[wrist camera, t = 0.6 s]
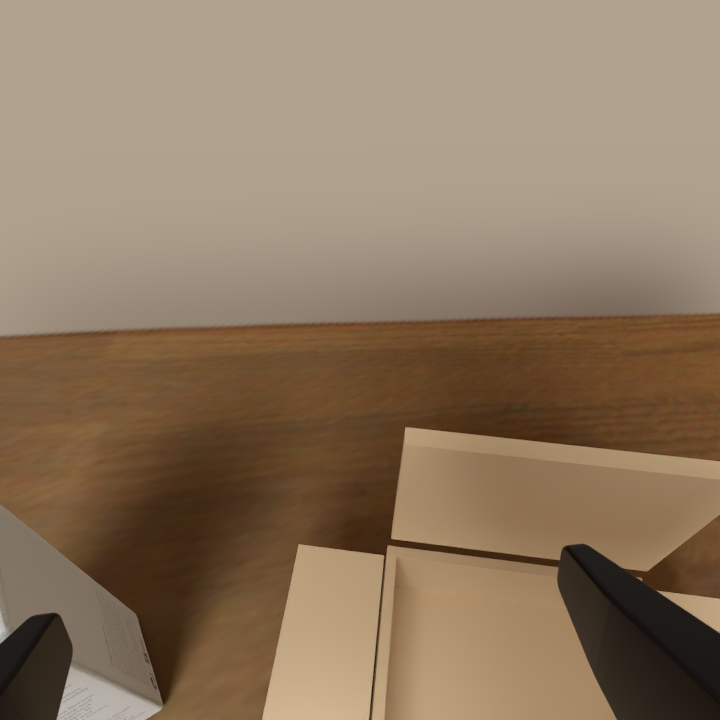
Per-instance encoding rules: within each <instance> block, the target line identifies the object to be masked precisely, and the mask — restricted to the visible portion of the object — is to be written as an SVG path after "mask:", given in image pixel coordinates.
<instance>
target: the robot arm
mask: <svg viewBox="0 0 720 720" xmlns="http://www.w3.org/2000/svg"><path fill="white" fill-rule="evenodd" d="M557 584H558V588H559V591H560V594H561V596H562V599H563V601H564V604H565V606H566V609H567V611H568V613H569V616H570V618H571V621H572V623H573V626H574V628H575V631H576V633H577V636H578V638H579V641H580V643H581V645H582V648H583V650H584V653H585V655H586V658H587V660H588V663H589V665H590V667H591V669H592V672H593V674H594V676H595V678H596V680H597V682H598V684H599V686H600V688H601V690H602V692H603V694H604V696H605V698H606V700H607V702H608V704H609V706H610V707H611V709H612V711H613V713H614V715H615V717H616V719H617V720H720V633H719V632H718V631H716V630H715V629H713V628H712V627H710V626H709V625H707V624H706V623H704V622H703V621H701V620H700V619H698V618H697V617H695V616H694V615H692V614H691V613H689V612H688V611H686V610H685V609H683V608H682V607H680V606H679V605H677V604H676V603H674V602H673V601H671V600H670V599H668V598H667V597H665V596H664V595H662V594H661V593H659V592H658V591H656V590H655V589H653V588H652V587H650V586H649V585H647V584H646V583H644V582H643V581H641V580H640V579H638V578H637V577H635V576H634V575H632V574H631V573H629V572H628V571H626V570H625V569H623V568H622V567H620V566H619V565H617V564H616V563H614V562H613V561H611V560H610V559H608V558H607V557H605V556H604V555H602V554H601V553H599V552H598V551H596V550H595V549H593V548H592V547H590V546H588V545H586V544H573V545H566V546H564V547H563V548H562V550H561V555H560V561H559V568H558V574H557ZM72 656H73V646H72V642H71V639H70V637H69V635H68V632H67V630H66V627H65V625H64V623H63V620H62V618H61V616H60V615H59V614H58V613H54V612H53V613H46V614H38V615H33V616H31V617H29V618H28V619H27V620H25V621H24V622H23V623H22V624H21V625H20V626H19V627H18V628H17V629H15V630H14V631H13V632H12V633H11V634H10V635H9V636H8V637H7V638H6V639H5V640H3V641H2V642H1V643H0V720H57V717H58V713H59V709H60V705H61V701H62V697H63V693H64V689H65V685H66V681H67V677H68V673H69V669H70V665H71V661H72Z"/></svg>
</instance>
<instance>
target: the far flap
mask: <svg viewBox="0 0 720 720" xmlns="http://www.w3.org/2000/svg"><path fill="white" fill-rule="evenodd" d="M718 515H720V461H711V460H701V459H692V458H683V457H674V456H665V455H656V454H647V453H637V452H628V451H619V450H610V449H601V448H592V447H583V446H573V445H564V444H555V443H546V442H537V441H528V440H519V439H509V438H500V437H491V436H482V435H473V434H464V433H455V432H445V431H436V430H427V429H418V428H409V427H406V428H405V435H404V442H403V450H402V457H401V464H400V472H399V479H398V486H397V494H396V501H395V508H394V516H393V523H392V534H391V539H396V540H403V541H411V542H419V543H427V544H435V545H443V546H451V547H459V548H467V549H474V550H482V551H490V552H498V553H506V554H514V555H522V556H530V557H537V558H545V559H553V560H560V555H561V550H562V548H563V547H564V546H566V545H573V544H586V545H588V546H590V547H592V548H593V549H595V550H596V551H598V552H599V553H601V554H602V555H604V556H605V557H607V558H608V559H610V560H611V561H613V562H614V563H616V564H617V565H619V566H620V567H622V568H624V569H632V570H640V571H648V570H650V569H651V568H652V567H653V566H655V565H656V564H657V563H659V562H660V561H661V560H662V559H664V558H665V557H666V556H667V555H669V554H670V553H671V552H673V551H674V550H675V549H676V548H678V547H679V546H680V545H681V544H683V543H684V542H685V541H687V540H688V539H689V538H690V537H692V536H693V535H694V534H695V533H697V532H698V531H699V530H701V529H702V528H703V527H704V526H706V525H707V524H708V523H709V522H711V521H712V520H713V519H715V518H716V517H717V516H718Z"/></svg>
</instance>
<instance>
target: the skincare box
mask: <svg viewBox="0 0 720 720" xmlns="http://www.w3.org/2000/svg"><path fill="white" fill-rule="evenodd" d="M53 612H54V613H58V614H59V615H60V616H61V618H62V620H63V623H64V625H65V627H66V630H67V632H68V635H69V637H70V639H71V642H72V646H73V656H72V661H71V665H70V669H69V673H68V677H67V681H66V685H65V689H64V693H63V697H62V701H61V705H60V709H59V713H58V717H57V720H146V719H147V718H149V717H150V716H152V715H153V714H155V713H157V712H158V711H160V710H161V709H162V708H163V702H162V699H161V696H160V692H159V689H158V686H157V682H156V679H155V675H154V672H153V668H152V665H151V662H150V658H149V655H148V652H147V649H146V646H145V643H144V639H143V636H142V633H141V629H140V626H139V622H138V618H137V615H136V614H135V613H134V612H133V611H132V610H130V609H129V608H128V607H126V606H125V605H124V604H123V603H122V602H120V601H119V600H118V599H117V598H116V597H114V596H113V595H112V594H111V593H109V592H108V591H107V590H106V589H104V588H103V587H102V586H101V585H99V584H98V583H97V582H96V581H94V580H93V579H92V578H91V577H90V576H88V575H87V574H86V573H85V572H83V571H82V570H81V569H80V568H78V567H77V566H76V565H75V564H74V563H72V562H71V561H70V560H68V559H67V558H66V557H65V556H63V555H62V554H61V553H60V552H59V551H57V550H56V549H55V548H54V547H53V546H51V545H50V544H49V543H47V542H46V541H45V540H44V539H43V538H41V537H40V536H39V535H38V534H36V533H35V532H34V531H33V530H32V529H30V528H29V527H28V526H27V525H25V524H24V523H23V522H21V521H20V520H19V519H18V518H16V517H15V516H14V515H13V514H12V513H11V512H9V511H8V510H7V509H6V508H4V507H3V506H2V505H1V504H0V643H1V642H2V641H3V640H5V639H6V638H7V637H8V636H9V635H10V634H11V633H12V632H13V631H14V630H15V629H17V628H18V627H19V626H20V625H21V624H22V623H23V622H24V621H25V620H27V619H28V618H29V617H31V616H33V615H38V614H46V613H53Z"/></svg>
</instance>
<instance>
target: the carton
mask: <svg viewBox="0 0 720 720" xmlns="http://www.w3.org/2000/svg"><path fill="white" fill-rule="evenodd" d="M383 562H384V555H377V554H370V553H362V552H354V551H347V550H339V549H331V548H323V547H316V546H308V545H300V544H299V546H298V551H297V555H296V560H295V565H294V570H293V574H292V579H291V584H290V589H289V594H288V598H287V603H286V608H285V613H284V618H283V622H282V627H281V632H280V637H279V641H278V646H277V651H276V656H275V661H274V665H273V670H272V675H271V680H270V685H269V689H268V694H267V699H266V704H265V708H264V713H263V718H262V720H369V713H370V702H371V691H372V681H373V670H374V659H375V648H376V638H377V627H378V616H379V605H380V595H381V584H382V573H383ZM558 568H559V567H552V566H544V565H537V564H529V563H521V562H513V561H505V560H498V559H490V558H482V557H474V556H466V555H459V554H451V553H443V552H435V551H427V550H419V549H412V548H404V547H396V546H387V554H386V562H385V569H384V577H383V587H382V598H381V609H380V620H379V631H378V642H377V653H376V664H375V675H374V686H373V697H372V708H371V719H370V720H617V719H616V717H615V715H614V713H613V711H612V709H611V707H610V706H609V704H608V702H607V700H606V698H605V696H604V694H603V692H602V690H601V688H600V686H599V684H598V682H597V680H596V678H595V676H594V674H593V672H592V669H591V667H590V665H589V663H588V660H587V658H586V655H585V653H584V650H583V648H582V645H581V643H580V641H579V638H578V636H577V633H576V631H575V628H574V626H573V623H572V621H571V618H570V616H569V613H568V611H567V609H566V606H565V604H564V601H563V599H562V596H561V594H560V591H559V588H558V584H557V574H558ZM637 578H638V577H637ZM638 579H640V580H641V581H642V578H638ZM658 592H659V593H661V594H662V595H664V596H665V597H667V598H668V599H670V600H671V601H673V602H674V603H676V604H677V605H679V606H680V607H682V608H683V609H685V610H686V611H688V612H689V613H691V614H692V615H694V616H695V617H697V618H698V619H700V620H701V621H703V622H704V623H706V624H707V625H709V626H710V627H712V628H713V629H715V630H716V631H718V632H719V633H720V599H717V598H709V597H701V596H694V595H686V594H678V593H671V592H663V591H658Z"/></svg>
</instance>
